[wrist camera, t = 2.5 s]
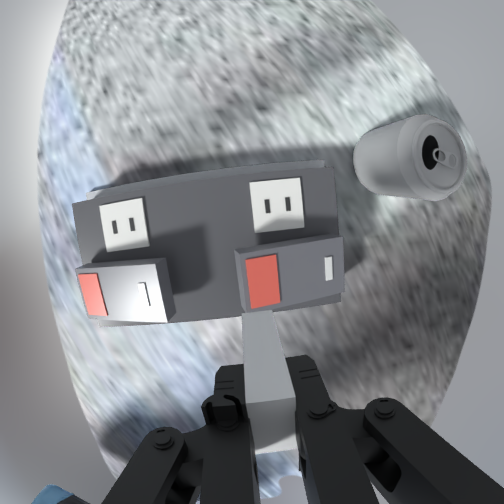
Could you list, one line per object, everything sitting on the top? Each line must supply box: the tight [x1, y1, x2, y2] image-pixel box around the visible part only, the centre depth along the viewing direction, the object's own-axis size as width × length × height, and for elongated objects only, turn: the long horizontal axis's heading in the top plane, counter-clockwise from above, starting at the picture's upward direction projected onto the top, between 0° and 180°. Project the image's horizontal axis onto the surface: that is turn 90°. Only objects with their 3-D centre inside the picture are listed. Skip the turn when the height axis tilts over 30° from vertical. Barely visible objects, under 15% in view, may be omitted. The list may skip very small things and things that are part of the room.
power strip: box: [72, 160, 341, 327], centre depth 28 cm, size 15×26×5 cm, turn 96°
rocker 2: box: [234, 233, 345, 313], centre depth 25 cm, size 5×9×2 cm, turn 96°
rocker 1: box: [75, 258, 177, 323], centre depth 24 cm, size 5×9×2 cm, turn 96°
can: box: [353, 114, 467, 201], centre depth 24 cm, size 8×8×12 cm
